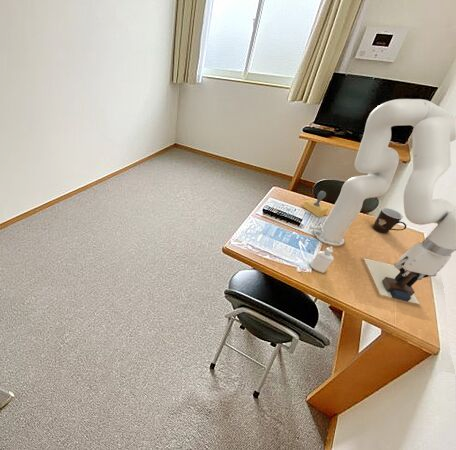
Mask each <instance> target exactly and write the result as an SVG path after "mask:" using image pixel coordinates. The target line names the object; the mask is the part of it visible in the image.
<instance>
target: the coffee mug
mask: <svg viewBox="0 0 456 450" xmlns="http://www.w3.org/2000/svg"><path fill="white" fill-rule="evenodd" d="M403 218H404V216H403V214H402V213H400V212H399V211H397V210H395V209H393V208H389V207H382V208H381V210H380V212H379V214H378V216H377V218H376V219H375V221H374V223H373V225H372V229H373V230H374V231H375V232H378V233H381V234H384V235H385V234H388V233H389V231H403V230H406V229H407V224H406V223H405V222H403V221H401V220H402V219H403ZM397 224H403V226H404V228H394V227H395V226H396V225H397Z"/></svg>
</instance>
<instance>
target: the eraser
mask: <svg viewBox="0 0 456 450" xmlns="http://www.w3.org/2000/svg"><path fill="white" fill-rule="evenodd" d="M390 293H391V295H392V297H391V298H392V299H395V300H399V301H405V302H409V300H410V299H411V297H410V295H409V293H406V292H402V291H398V290H392V291H391V292H390Z"/></svg>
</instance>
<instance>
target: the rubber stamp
mask: <svg viewBox="0 0 456 450" xmlns="http://www.w3.org/2000/svg"><path fill="white" fill-rule="evenodd" d="M326 196H327V192H326V191H324V190H320V191H319V192H318V193H317V199H316V200H314V199H309V200H305V202H304V204H302V208H304V209H305V210H307V211H308V212H309V213H311V214H313V215H315V216H316V217H318V218H320V217H323V216H326V214H327V213H328V210H329V209H328V208H327V207H326V206H324V205H322V204H321V202H322V200H324V199H325V198H326Z"/></svg>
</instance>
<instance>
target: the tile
mask: <svg viewBox="0 0 456 450" xmlns="http://www.w3.org/2000/svg"><path fill="white" fill-rule="evenodd" d="M363 260H364V262H365V265H366V266H367V268H368V271H369V273H370V275H371V277H372V279H373V281H374V284H375V286H376V288H377V290H378V292H379V295H381V296H384V297H385V296H386V297H390V298H393V297H392V295H391V293H390V292H388V291H386V289H385V287H384V285H383V283H382V280H383V279H384V278H385V277H389V278H393V279H395V277H396V276H397V275H398V274H399V273H400V271H399V270H398V269H397V268H396V267H395V266H394V264H392V263H391V264H390V263H387V262H382V261H378V260H374V259H369V258H365V257H363ZM408 302H409V303H414V304H418V305H420V302H419V300H418V299H417V297H416V295H415V293H414V294H413V295H412V296H411V299H410V300H409V301H408Z"/></svg>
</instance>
